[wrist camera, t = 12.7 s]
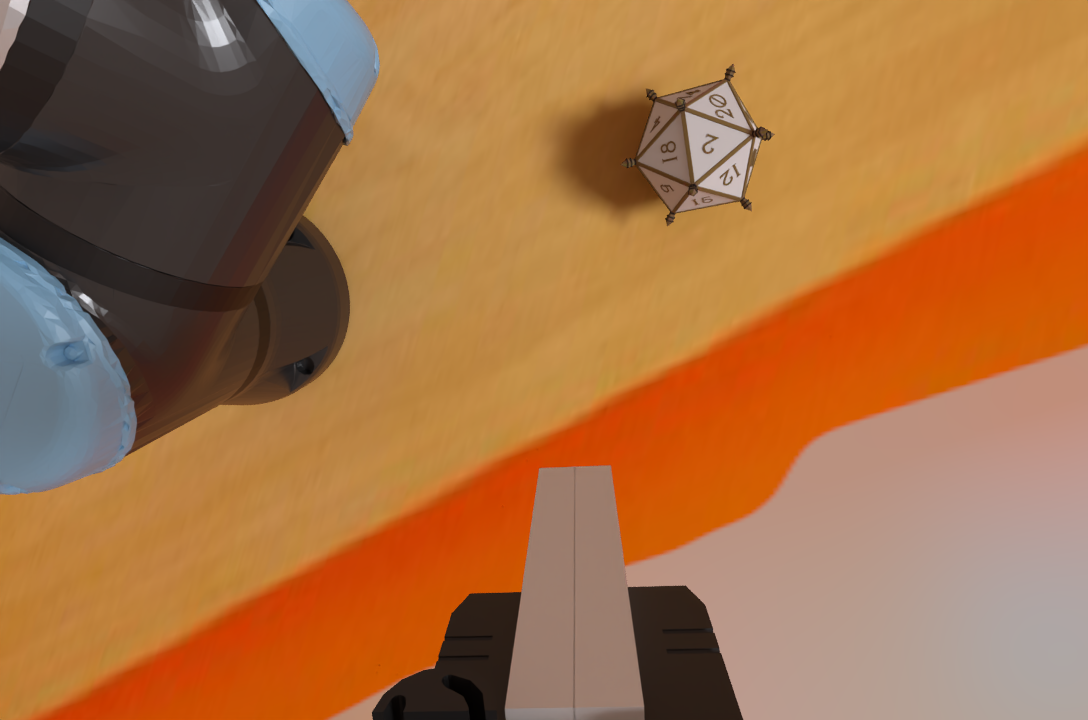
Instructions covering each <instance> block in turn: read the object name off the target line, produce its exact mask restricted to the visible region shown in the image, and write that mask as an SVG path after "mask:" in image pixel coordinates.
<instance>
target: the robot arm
mask: <svg viewBox="0 0 1088 720" xmlns="http://www.w3.org/2000/svg"><path fill="white" fill-rule="evenodd" d="M379 66H380V63H379V55H378V49H377V46H376V43H375V41H374V39H373V37H372V35H371V33H370V31H369V29H368V27H367V26H366V24H365V23H364V21H363V20H362V19H361V17H360V16H359V15H358V13H357V12H356V11H355V10H354V8H353V7H352V6H351V5H350V4H349V2H348V1H347V0H0V494H8V495H14V494H20V493H26V494H28V493H32V492H43V491H47V490H51V489H55V488H57V487H60V486H63V485H65V484H68V483H70V482H73V481H76V480H78V479H81V478H83V477H86V476H89V475H91V474H96V473H100V472H103V471H104V470H106V469H108V468H111V467H113V466H115V464H116V463H118V462H120V461H122V459H123V458H124V457H125V456H127V455H129V454H130V453H132V452H134V451H136V450H138V449H140V448H141V447H143V446H145V445H147V444H149V443H151V442H152V441H154V440H156V439H158V438H160V437H162V436H163V435H165V434H167V433H169V432H171V431H173V430H174V429H176V428H178V427H180V426H182V425H184V424H185V423H187V422H189V421H191V420H193V419H195V418H196V417H198V416H200V415H202V414H204V413H206V412H207V411H209V410H211V409H213V408H215V407H217V406H218V405H256V404H263V403H268V402H272V401H275V400H278V399H282V398H284V397H286V396H289V395H291V394H293V393H295V392H296V391H298V390H300V389H301V388H303V387H304V386H306V385H308V384H309V383H311V382H312V381H314V380H315V379H316V378H318V377H319V376H320V375H321V374H322V373H323V372H324V371H325V370H326V369H327V368H328V367H329V365H330V364H331V363H332V362H333V360H334V359H335V357H336V356H337V354H338V352H339V350H340V348H341V346H342V344H343V341H344V339H345V335H346V332H347V328H348V322H349V313H350V300H349V291H348V285H347V281H346V277H345V274H344V271H343V268H342V266H341V263H340V261H339V259H338V257H337V255H336V253H335V251H334V249H333V248H332V246H331V245H330V243H329V242H328V240H327V239H326V238H325V236H324V235H323V234H322V233H321V232H320V231H319V229H318V228H317V227H316V226H315V225H314V224H313V223H312V222H310V221H309V220H308V219H307V218H306V217H304V216H303V213H304V212H305V210H306V208H307V206H308V205H309V203H310V201H311V199H312V198H313V196H314V194H315V192H316V191H317V189H318V187H319V185H320V184H321V182H322V180H323V178H324V177H325V175H326V173H327V171H328V170H329V168H330V166H331V164H332V163H333V161H334V159H335V157H336V156H337V154H338V152H339V151H340V149H341V147H342V145H346V146H348V145H349V143H350V142H351V140H352V138H353V126H354V124H355V122H356V120H357V118H358V116H359V114H360V112H361V111H362V109H363V107H364V105H365V103H366V101H367V99H368V97H369V95H370V93H371V91H372V89H373V87H374V85H375V83H376V81H377V77H378V74H379ZM372 716H373V720H743V718H742V715H741V712H740V709H739V706H738V703H737V700H736V697H735V694H734V691H733V688H732V685H731V682H730V679H729V676H728V673H727V670H726V667H725V664H724V661H723V658H722V655H721V653H720V651H719V646H718V643H717V639H716V636H715V633H713V627H712V624H711V621H710V618H709V615H708V613H707V609H706V606H705V605H704V603H703V602H702V601H700V599H698V597H697V596H696V595H694V594H693V593H692V592H691V591H690V590H689V589H688V588H687V587H686V586H655V587H627V580H626V573H625V565H624V558H623V551H622V544H621V537H620V529H619V522H618V515H617V508H616V501H615V494H614V486H613V479H612V472H611V465H610V466H584V467H559V468H539V475H538V482H537V489H536V496H535V502H534V509H533V516H532V523H531V530H530V537H529V544H528V551H527V558H526V565H525V572H524V579H523V586H522V592H512V593H474V594H469V596H468V597H467V598H466V599H465V600H464V601H463V602H462V603H461V604H460V605H459V606H458V607H457V608H456V609H455V611H454V612H453V613H452V614H451V618H450V621H449V624H448V627H447V630H446V634H445V641H443V643H442V647H441V650H440V653H439V659H438V661H437V663H436V666H435V669H428V670H423V671H421V672H419V673H416V674H414V675H412V676H409V677H407V678H405V679H402V680H401V681H400V682H398V683H397V684H396V685H395V686H393V687H392V688H391V689H390V690H388V691H387V692H386V693H385V694H384V695H383V696H382V698H381V699H380V701H379V702H378V704H377V705H376V707H375V709H374V710H373V712H372Z"/></svg>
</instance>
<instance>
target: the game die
mask: <svg viewBox="0 0 1088 720" xmlns="http://www.w3.org/2000/svg"><path fill="white" fill-rule="evenodd" d="M726 70H727V71H726V73H725V79H723V80H720V81H716V82H712V83H709V84H705V85H701V86H698V87H694V88H690V89H687V90H683V91H679V92H676V93H672V94H669V95H665V96H661V97H657V96H656V93H654V90H650V89H646V92H647V97H648V98H649V100H652V101H653V105H652V108H651V111H650V114H649V117H648V120H647V123H646V126H645V130H644V133H643V136H642V139H641V142H640V145H639V148H638V151H637V154H636V157H635V159H631V158H630V159H626V160H625V161H624V162H623V163H622V164H621V165H622V166H625V167H627V168H629V167H632V166H633V165H636V166H637V168H638V169H639V170H640V172H641V173H642V174H643V176H644V177H645V178H646V180H647V181H648V182H649V184H650V185H651V186H652V188H653V189H654V190H655V192H656V193H657V195H658V196H659V197H660V199H661V200H662V201H663V203H664V204H665V205H666V207H667V208H668V209H669V211H670V213H669V215H667V218H665V219H666V223H667V226H668V225H670V224H671V223H672V222H674V221H673V220H674V219H675V217H674V216H675V214H676V213H681V212H686V211H691V210H696V209H702V208H707V207H712V206H717V205H723V204H728V203H733V202H739V201H740V202H741V204H742V205H741V206H743V207H744V209H747V210H750V211H752V208H751V203H752V202H751V203H750V202H749V199H748V200H747V199H745V193H746V190H747V187H748V184H749V180H750V177H751V174H752V170H753V167H754V164H755V160H756V157H757V154H758V151H759V147H760V144H761V141H762V140H764V141H766V140H770V139H771V137H772V136H773V135H775V134H773V133H771V132H770V131H768V130H766V129H765V128H763V127H760V128H757V126H756V124H755V123H754V121H753V119H752V118H751V116H750V114H749V113H748V111H747V109H746V108H745V106H744V104H743V102H742V101H741V99H740V97H739V96H738V94H737V92H736V91H735V89H734V87H733V86H732V84H731V82H730V79H731V78H732V77H734V76H733V75H734V73H735V69H734V64H732V65H731V66H730V67H729V68H728V69H726Z"/></svg>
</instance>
